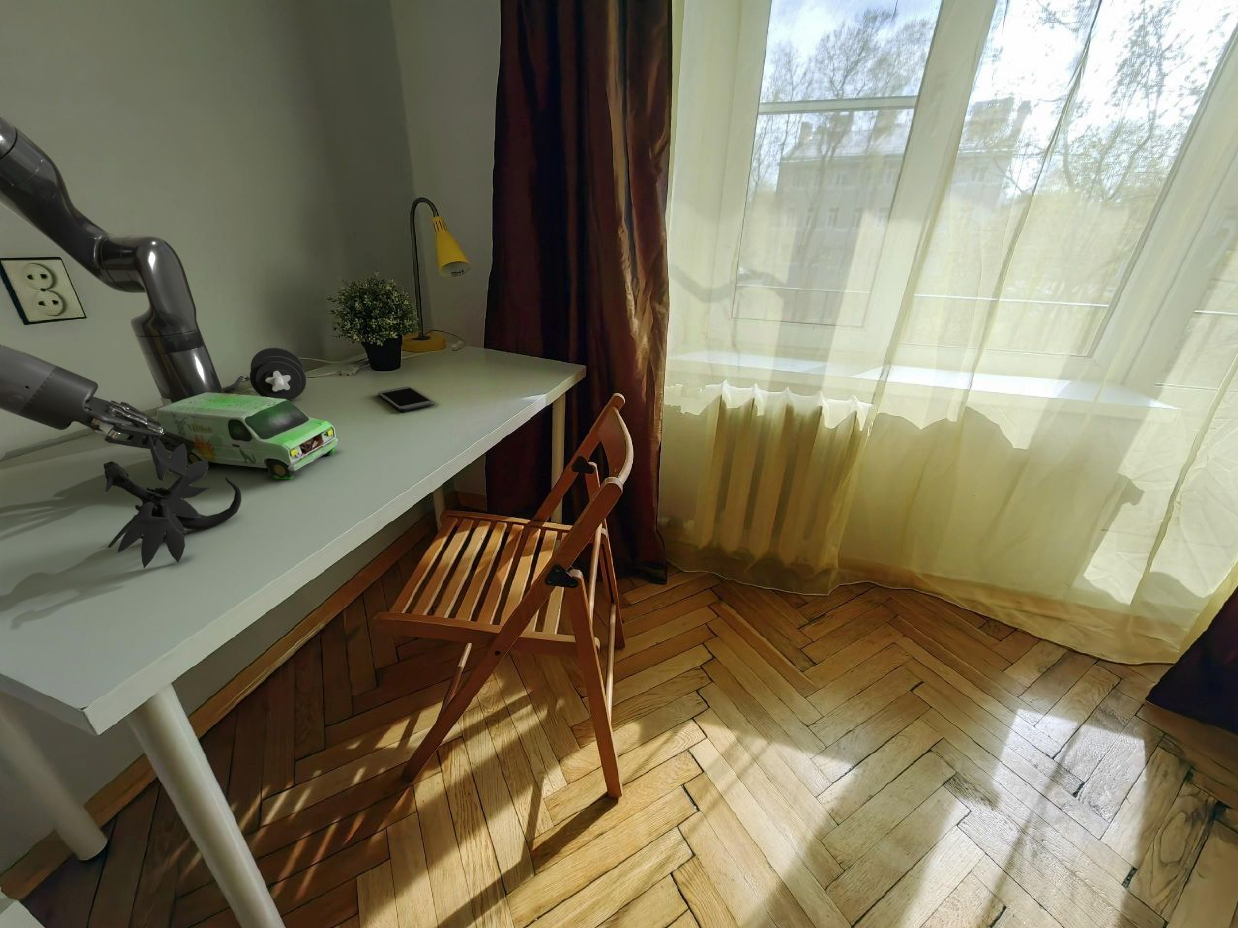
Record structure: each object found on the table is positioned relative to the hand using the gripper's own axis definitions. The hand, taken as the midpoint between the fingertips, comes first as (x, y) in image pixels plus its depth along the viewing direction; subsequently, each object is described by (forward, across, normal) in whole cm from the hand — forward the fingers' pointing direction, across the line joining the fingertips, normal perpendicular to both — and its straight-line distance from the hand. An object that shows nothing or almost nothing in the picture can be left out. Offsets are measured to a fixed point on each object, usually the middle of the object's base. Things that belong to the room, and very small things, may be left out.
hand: (190, 449), depth 75 cm
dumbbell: (+15, +34, -9) cm, 38 cm away
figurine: (+2, -23, +5) cm, 23 cm away
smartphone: (+29, +14, -23) cm, 40 cm away
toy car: (+8, 0, -2) cm, 9 cm away
